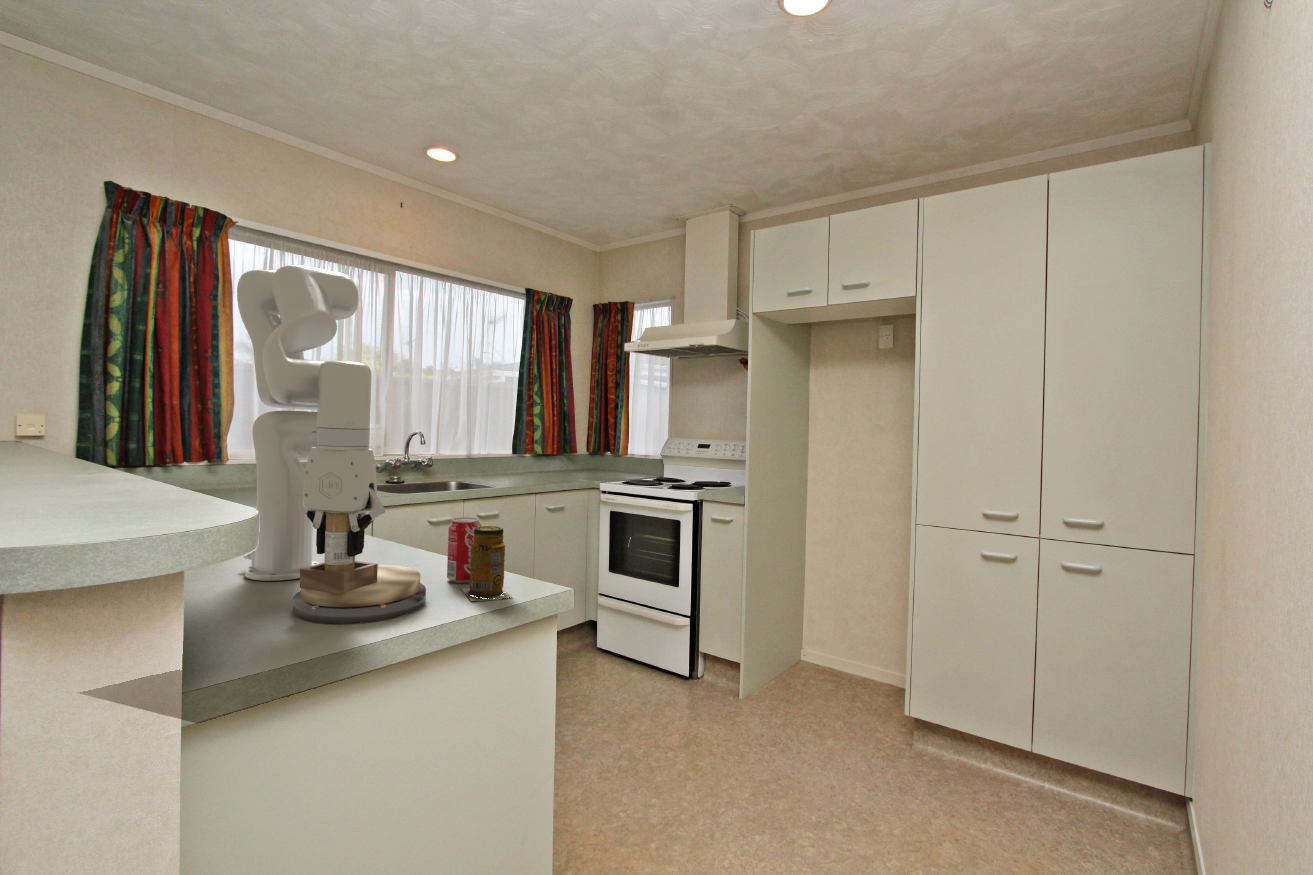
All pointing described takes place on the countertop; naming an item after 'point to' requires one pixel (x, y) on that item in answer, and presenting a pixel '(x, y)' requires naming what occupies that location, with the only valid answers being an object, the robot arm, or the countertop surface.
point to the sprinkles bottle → (337, 543)
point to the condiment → (487, 564)
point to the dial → (358, 585)
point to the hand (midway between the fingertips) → (339, 552)
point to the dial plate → (358, 610)
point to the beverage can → (460, 548)
